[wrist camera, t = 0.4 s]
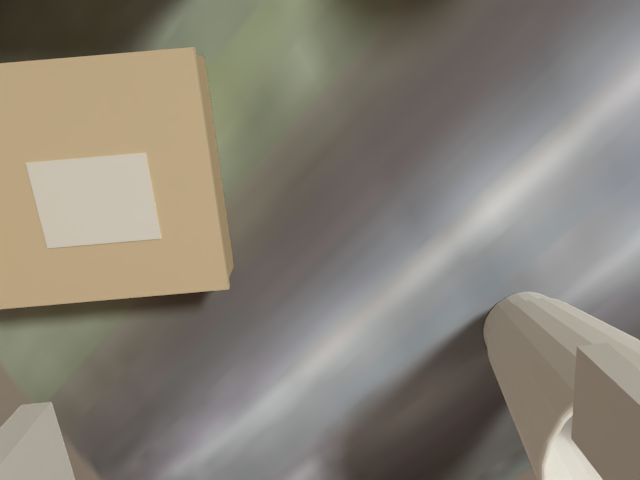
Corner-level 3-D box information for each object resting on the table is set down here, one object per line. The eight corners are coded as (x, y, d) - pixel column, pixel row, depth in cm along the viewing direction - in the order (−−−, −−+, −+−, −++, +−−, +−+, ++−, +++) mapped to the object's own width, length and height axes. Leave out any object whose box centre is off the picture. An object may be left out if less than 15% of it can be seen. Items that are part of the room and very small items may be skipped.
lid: (-123, 74, 31) (-165, 72, 28) (195, 47, 31) (184, 43, 29) (-46, 310, 36) (-75, 328, 33) (229, 286, 36) (223, 302, 33)
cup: (600, 261, 41) (778, 363, 25) (581, 385, 44) (728, 541, 29) (458, 266, 40) (552, 371, 25) (450, 390, 44) (529, 550, 29)
